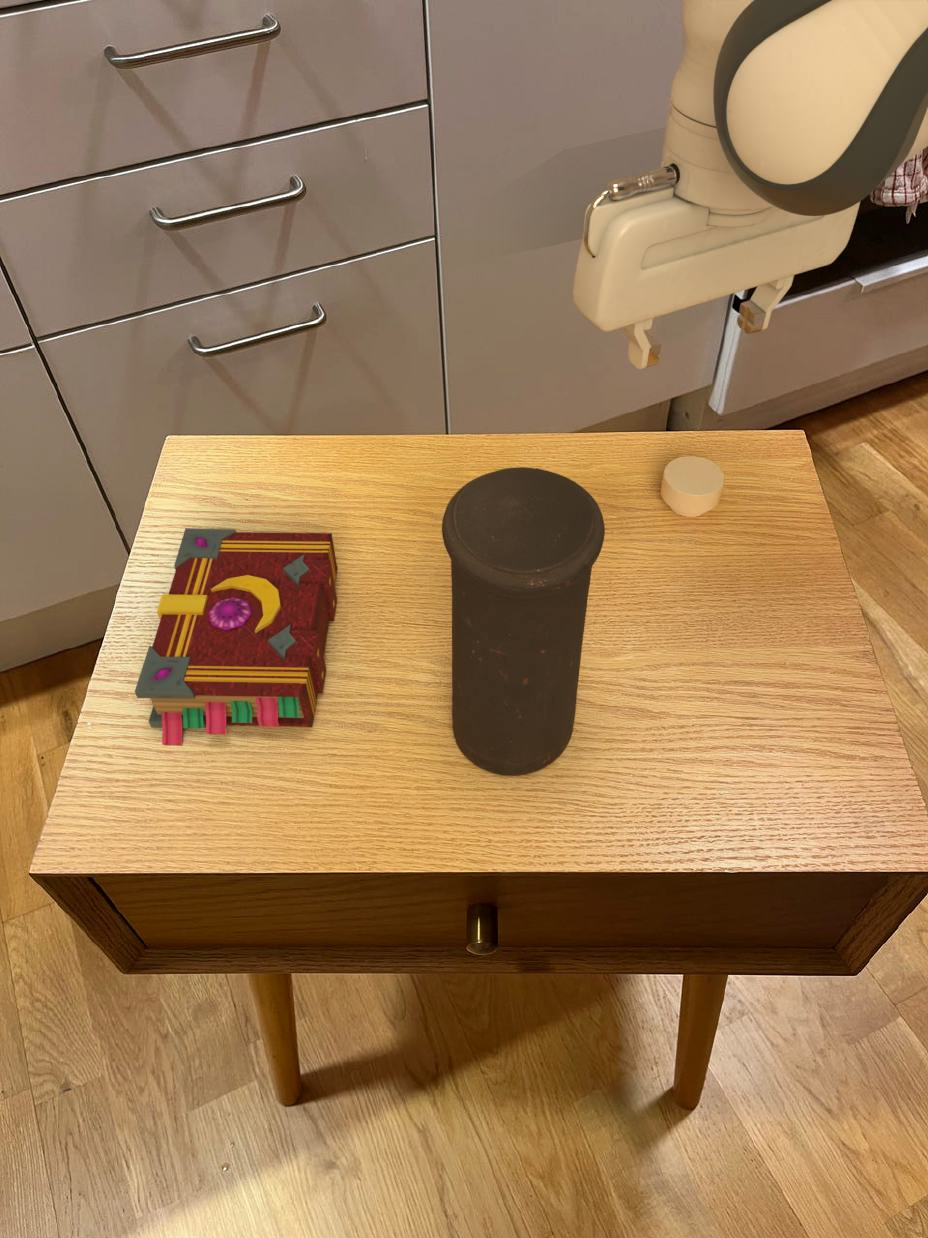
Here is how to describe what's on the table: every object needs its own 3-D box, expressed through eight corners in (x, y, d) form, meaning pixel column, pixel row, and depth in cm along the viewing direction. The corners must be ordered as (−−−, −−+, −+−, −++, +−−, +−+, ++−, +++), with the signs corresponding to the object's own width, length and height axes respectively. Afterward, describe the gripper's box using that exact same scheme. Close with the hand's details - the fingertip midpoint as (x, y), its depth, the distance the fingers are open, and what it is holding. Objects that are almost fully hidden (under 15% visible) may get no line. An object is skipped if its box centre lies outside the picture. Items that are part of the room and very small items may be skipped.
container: (596, 697, 66) (630, 478, 51) (548, 802, 61) (570, 593, 46) (482, 656, 69) (482, 436, 54) (427, 754, 64) (409, 540, 48)
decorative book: (342, 571, 75) (334, 524, 71) (314, 747, 64) (304, 704, 60) (197, 569, 75) (182, 523, 71) (146, 744, 64) (125, 701, 61)
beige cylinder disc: (728, 499, 79) (735, 471, 77) (698, 531, 77) (705, 504, 74) (677, 475, 81) (683, 447, 79) (647, 506, 79) (652, 478, 76)
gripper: (616, 211, 54) (596, 410, 65) (899, 135, 60) (837, 330, 70) (561, 165, 58) (550, 361, 68) (832, 98, 63) (783, 289, 74)
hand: (697, 345), depth 69 cm, fingers open, 8 cm apart
